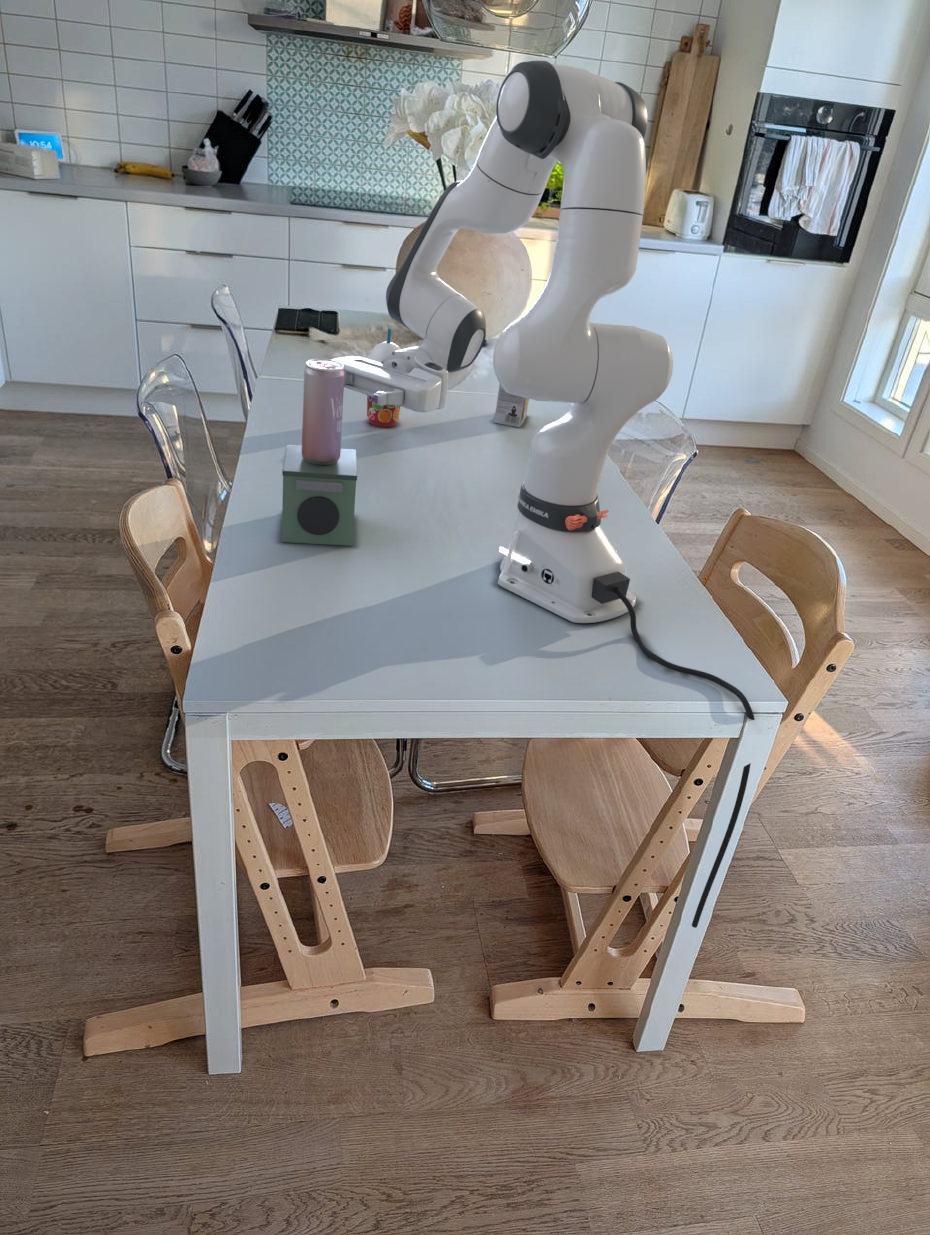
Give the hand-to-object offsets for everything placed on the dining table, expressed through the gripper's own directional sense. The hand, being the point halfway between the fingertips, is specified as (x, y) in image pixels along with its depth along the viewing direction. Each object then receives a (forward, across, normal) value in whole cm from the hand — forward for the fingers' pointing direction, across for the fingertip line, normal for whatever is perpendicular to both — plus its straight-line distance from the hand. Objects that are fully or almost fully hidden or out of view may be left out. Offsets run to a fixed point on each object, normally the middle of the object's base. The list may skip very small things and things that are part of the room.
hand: (352, 391), depth 143 cm
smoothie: (-43, -25, +22) cm, 54 cm away
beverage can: (+7, 0, +10) cm, 12 cm away
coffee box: (-69, -8, +22) cm, 72 cm away
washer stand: (+7, 0, +22) cm, 23 cm away
